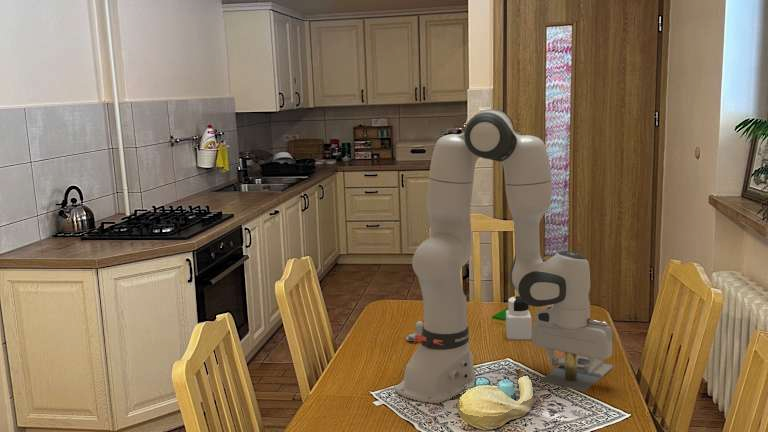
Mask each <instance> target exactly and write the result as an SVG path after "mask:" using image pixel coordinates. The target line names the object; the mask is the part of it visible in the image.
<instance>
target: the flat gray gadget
mask: <svg viewBox="0 0 768 432" xmlns="http://www.w3.org/2000/svg"><path fill="white" fill-rule="evenodd" d="M589 363H590V361H589V360H588V357H587V356H582V355H577V372H579V373H583V374H588V375H593V376H597V377H602V376H603V377H604V376H605V375H606V374H607V373H609V372H610V371H611V370H612V369H613V368H612V365H613V364H611V365H607V364H608V363H606V364H603V363H604V360H602V359H597V360H596V361H595V363H594V364H593V365H592V372H591V373H590V374H589V373H585V372H584V365H586V364H589ZM579 364H584V365H579ZM557 366H565V355H564V356H563V357H562V358H561V359H558V365H557ZM609 370H610V371H609ZM603 377H602V378H603Z"/></svg>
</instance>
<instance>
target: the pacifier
mask: <svg viewBox="0 0 768 432" xmlns="http://www.w3.org/2000/svg"><path fill="white" fill-rule="evenodd" d="M423 326H424V322H422V321H421V320H418V321H417V322H416V323H415V326H414V330H415V333H411V334H408V335H407V336H406V337H405V340H406V341H408V342H414V341H415V340H414V338H415V337H414V336H415V334H420V335H421V332H422V329H423ZM415 343H417V342H416V341H415Z"/></svg>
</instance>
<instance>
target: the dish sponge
mask: <svg viewBox="0 0 768 432" xmlns="http://www.w3.org/2000/svg"><path fill="white" fill-rule="evenodd" d="M506 310H508V307H507V308H505V309H503V310H501V311H499V312H497V313H495V314H494V315H491V322H492V324H497V325H498V324H499V325H504V326H506ZM529 312H530V313H531V308H529Z"/></svg>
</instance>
